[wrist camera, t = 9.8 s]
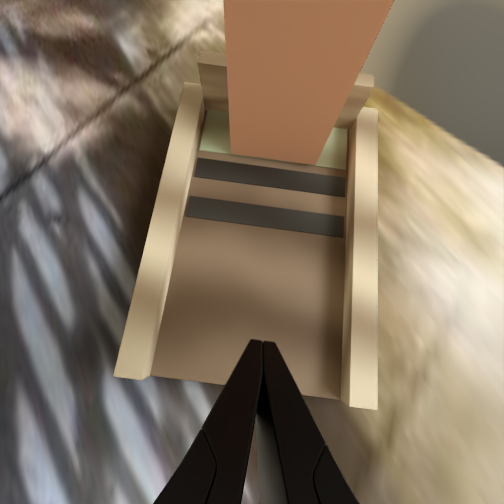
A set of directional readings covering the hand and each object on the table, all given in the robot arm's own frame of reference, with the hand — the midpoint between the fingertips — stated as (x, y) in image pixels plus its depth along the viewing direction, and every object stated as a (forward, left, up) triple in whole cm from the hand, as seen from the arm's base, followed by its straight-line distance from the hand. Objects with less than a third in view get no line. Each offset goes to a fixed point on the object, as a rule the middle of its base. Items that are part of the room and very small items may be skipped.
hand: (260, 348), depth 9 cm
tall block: (+10, +10, -7) cm, 15 cm away
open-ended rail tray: (+5, +5, -8) cm, 11 cm away
